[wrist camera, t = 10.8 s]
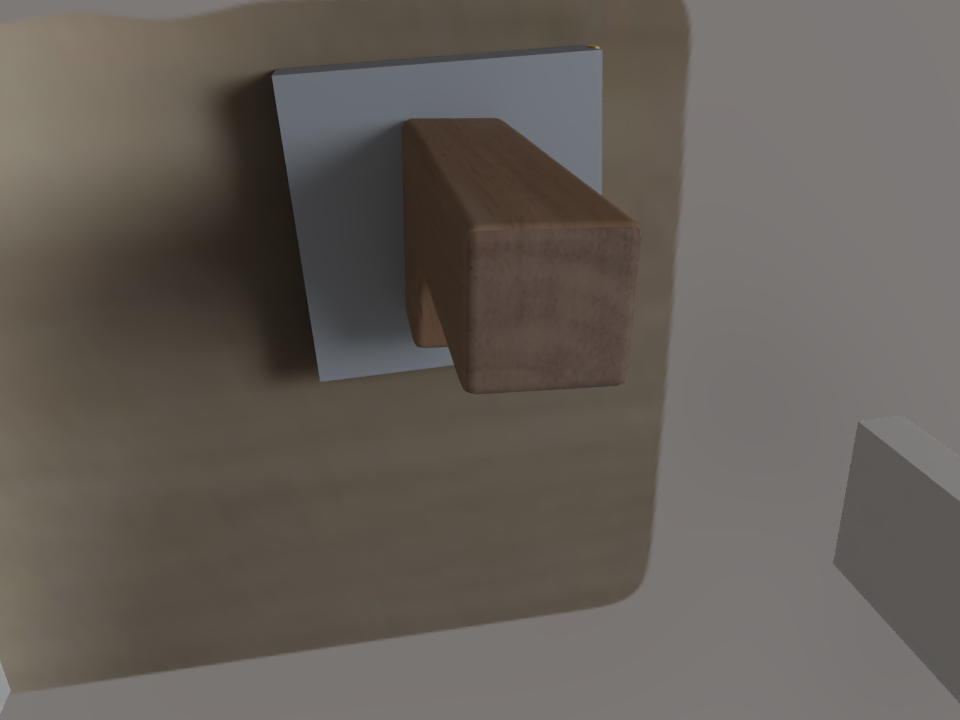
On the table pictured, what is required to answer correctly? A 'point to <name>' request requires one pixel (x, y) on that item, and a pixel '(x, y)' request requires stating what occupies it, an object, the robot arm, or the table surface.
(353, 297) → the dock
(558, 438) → the table surface
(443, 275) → the wooden block
